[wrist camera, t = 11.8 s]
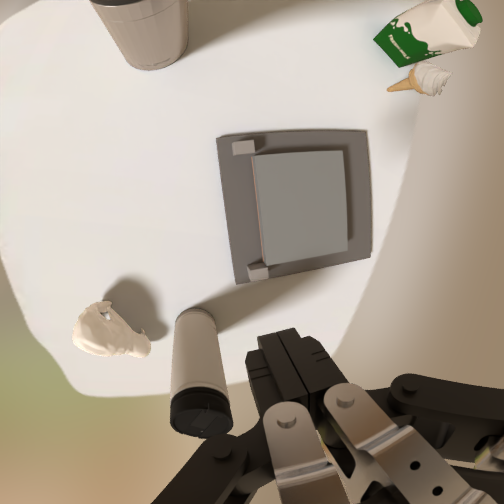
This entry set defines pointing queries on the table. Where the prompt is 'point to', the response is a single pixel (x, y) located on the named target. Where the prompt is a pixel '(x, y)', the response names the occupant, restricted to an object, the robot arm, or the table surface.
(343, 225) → the tile
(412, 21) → the milk carton
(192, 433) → the travel mug
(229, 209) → the base
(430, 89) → the ice cream cone
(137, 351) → the beige irregular lump
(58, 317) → the table surface
